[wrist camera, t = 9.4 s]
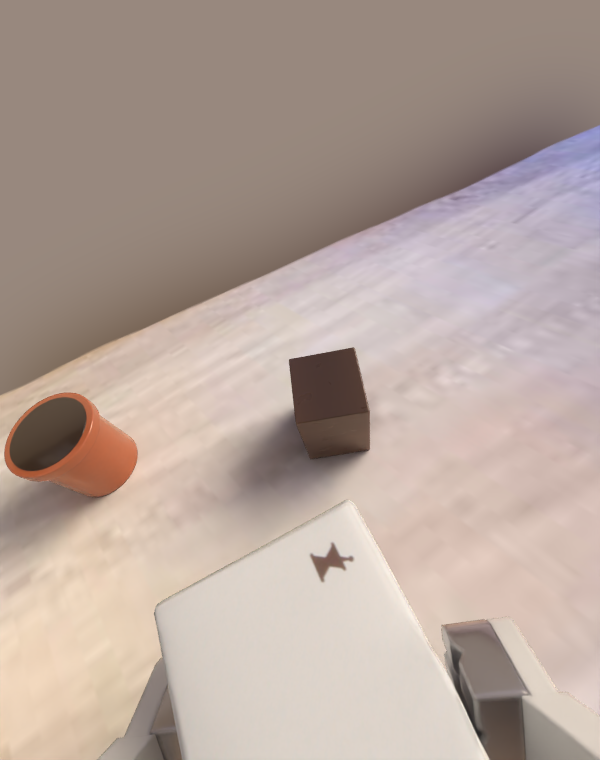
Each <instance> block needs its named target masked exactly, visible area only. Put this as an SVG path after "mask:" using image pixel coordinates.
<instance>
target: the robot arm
mask: <svg viewBox="0 0 600 760" xmlns="http://www.w3.org/2000/svg"><path fill="white" fill-rule="evenodd" d="M441 631H442V639H443V642H444V644H445V647H446V650H447V651H446V653H445V654H444V656H445V663H446V669H447V673H448V676H449V677H450V679H451V681H452V683H453V685H454V687H455V689H456V691H457V693H458V695H459V698H460V700H461V702H462V704H463V706H464V708H465V710H466V712H467V715H468V717H469V719H470V721H471V723H472V726H473V728H474V730H475V732H476V734H477V736H478V738H479V740H480V742H481V744H482V746H483V748H484V750H485V752H486V753H487V755H488V757H489V759H490V760H600V715H598V714H597V713H595V712H594V711H593V710H591V709H590V708H589V707H587V706H586V705H584V704H583V703H582V702H580V701H579V700H578V699H576V698H575V697H573V696H572V695H571V694H569V693H568V692H559V691H558V690H557V688H556V687H555V685H554V683H553V682H552V680H551V679H550V677H549V676H548V674H547V672H546V671H545V669H544V668H543V666H542V664H541V663H540V661H539V660H538V658H537V656H536V655H535V653H534V652H533V650H532V649H531V647H530V645H529V644H528V642H527V641H526V639H525V637H524V636H523V634H522V633H521V631H520V630H519V628H518V626H517V625H516V623H515V622H514V620H513V619H511V618H510V617H501V618H493V619H487V620H485V619H483V620H475V621H468V622H460V623H453V624H445V625H442V628H441ZM97 760H182V755H181V750H180V745H179V740H178V735H177V730H176V725H175V720H174V714H173V709H172V704H171V699H170V694H169V688H168V683H167V678H166V673H165V667H164V662H163V658H160V660H159V661H158V662H157V663H156V665H155V666H154V669H153V671H152V673H151V676H150V678H149V680H148V683H147V685H146V687H145V690H144V692H143V694H142V696H141V699H140V701H139V703H138V706H137V708H136V710H135V713H134V715H133V717H132V719H131V722H130V724H129V726H128V729H127V731H126V733H125V736H124V737H122V738H117V739H116V740H115V741H114V742H113V743H112V744H111V745H110V746H109V748H108V749H107V750H106V751H105V752H104V753H103V754H102V755H101V756H100V757H99V758H98V759H97Z"/></svg>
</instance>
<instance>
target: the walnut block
mask: <svg viewBox="0 0 600 760" xmlns="http://www.w3.org/2000/svg"><path fill="white" fill-rule="evenodd" d="M289 365H290V374H291V384H292V393H293V402H294V411H295V420H296V425H297V427H298V430H299V432H300V435H301V437H302V440H303V442H304V445H305V447H306V450H307V452H308V455H309V457H310V459H315V458H321V457H327V456H333V455H340V454H346V453H352V452H358V451H365V450H370V410H369V406H368V402H367V398H366V393H365V389H364V385H363V381H362V377H361V372H360V368H359V364H358V360H357V355H356V351H355V348H348V349H343V350H337V351H332V352H327V353H321V354H316V355H310V356H305V357H299V358H294V359H289Z"/></svg>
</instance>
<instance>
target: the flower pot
mask: <svg viewBox="0 0 600 760" xmlns="http://www.w3.org/2000/svg"><path fill="white" fill-rule="evenodd" d="M4 456H5V462H6V465H7V467H8V468H9V470H10V471H11V472H12V473H13V474H15V475H16V476H19V477H21V478H24V479H27V480H30V481H37V482H40V481H47V480H48V481H50V482H53V483H55V484H58V485H61V486H63V487H66V488H68V489H71V490H73V491H76V492H78V493H81V494H84V495H86V496H90V497H100V496H104V495H107V494H109V493H111V492H113V491H115V490H116V489H118V488H119V487H120V486H121V485H123V484H124V483H125V481H126V480H127V479H128V478H129V476H130V475H131V473H132V472H133V470H134V467H135V465H136V461H137V446H136V444H135V442H134V440H133V439H132V438H131V437H130V436H129V435H127V434H126V433H124V432H123V431H121V430H120V429H119V428H117V427H116V426H114V425H113V424H112V423H110V422H109V421H107V420H106V419H105V418H103V417H102V416H100V415H99V412H98V410H97V408H96V406H95V405H94V404H93V403H92V402H90V401H89V400H88V399H86V398H85V397H84V396H82V395H80V394H76V393H60V394H55V395H52V396H50V397H47V398H45V399H43V400H42V401H40V402H38V403H37V404H35V405H34V406H32V407H31V408H30V409H29V410H28V411H27V412H25V413H24V414H23V416H22V417H21V418H20V419H19V420H18V421H17V423H16V424H15V425H14V427H13V429H12V430H11V432H10V434H9V436H8V439H7V442H6V445H5V452H4Z"/></svg>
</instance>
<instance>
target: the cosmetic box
mask: <svg viewBox="0 0 600 760" xmlns="http://www.w3.org/2000/svg"><path fill="white" fill-rule="evenodd" d="M154 616H155V620H156V625H157V630H158V635H159V641H160V646H161V652H162V657H163V662H164V667H165V673H166V678H167V683H168V688H169V694H170V699H171V704H172V709H173V714H174V720H175V725H176V730H177V735H178V740H179V745H180V750H181V755H182V760H490V759H489V757H488V755H487V753H486V752H485V750H484V748H483V746H482V744H481V742H480V740H479V738H478V736H477V734H476V732H475V730H474V728H473V726H472V723H471V721H470V719H469V717H468V715H467V712H466V710H465V708H464V706H463V704H462V702H461V700H460V698H459V695H458V693H457V691H456V689H455V687H454V685H453V683H452V681H451V679H450V677H449V676H448V674H447V672H446V670H445V668H444V667H443V665H442V663H441V661H440V659H439V658H438V656H437V654H436V653H435V651H434V650H433V648H432V647H431V645H430V643H429V641H428V639H427V637H426V635H425V633H424V631H423V629H422V627H421V625H420V623H419V622H418V620H417V618H416V616H415V614H414V612H413V610H412V608H411V606H410V605H409V603H408V601H407V599H406V597H405V595H404V594H403V592H402V590H401V588H400V586H399V584H398V582H397V581H396V579H395V577H394V575H393V573H392V571H391V570H390V568H389V566H388V564H387V562H386V560H385V558H384V556H383V554H382V553H381V551H380V549H379V547H378V545H377V543H376V541H375V539H374V538H373V536H372V534H371V532H370V530H369V529H368V527H367V525H366V523H365V521H364V520H363V518H362V516H361V514H360V512H359V511H358V509H357V507H356V506H355V504H354V503H353V502H351V501H350V500H345V501H343V502H341V503H339V504H338V505H336V506H334V507H332V508H331V509H329V510H327V511H325V512H324V513H322V514H320V515H318V516H316V517H315V518H313V519H311V520H309V521H307V522H306V523H304V524H302V525H300V526H298V527H297V528H295V529H293V530H291V531H289V532H288V533H286V534H284V535H282V536H280V537H278V538H277V539H275V540H273V541H271V542H269V543H267V544H266V545H264V546H262V547H260V548H258V549H256V550H255V551H253V552H251V553H249V554H247V555H245V556H244V557H242V558H240V559H238V560H236V561H234V562H233V563H231V564H229V565H227V566H225V567H223V568H222V569H220V570H218V571H216V572H214V573H212V574H211V575H209V576H207V577H205V578H203V579H201V580H199V581H198V582H196V583H194V584H192V585H190V586H188V587H187V588H185V589H183V590H181V591H179V592H177V593H175V594H174V595H172V596H170V597H168V598H166V599H164V600H163V601H161V602H160V603H158V604H157V606H156V608H155V612H154Z"/></svg>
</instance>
